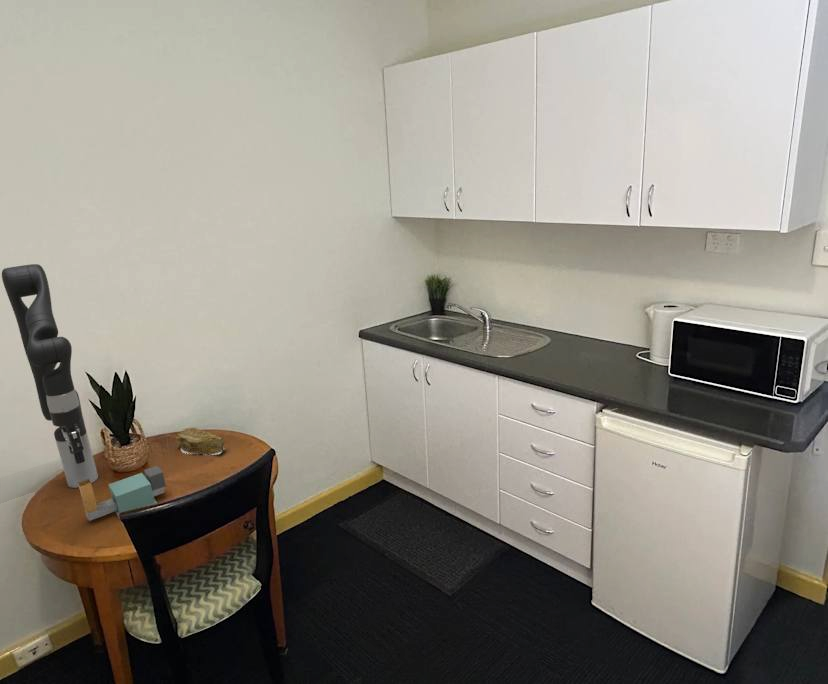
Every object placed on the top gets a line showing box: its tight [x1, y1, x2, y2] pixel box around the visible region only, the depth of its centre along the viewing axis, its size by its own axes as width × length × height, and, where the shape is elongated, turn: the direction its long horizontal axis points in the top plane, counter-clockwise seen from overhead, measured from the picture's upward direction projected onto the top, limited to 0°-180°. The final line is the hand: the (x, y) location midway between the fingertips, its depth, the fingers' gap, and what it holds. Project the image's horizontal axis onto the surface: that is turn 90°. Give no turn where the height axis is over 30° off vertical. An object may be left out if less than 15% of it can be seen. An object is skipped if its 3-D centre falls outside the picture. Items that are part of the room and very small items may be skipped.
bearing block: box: [108, 472, 158, 516], centre depth 182 cm, size 11×11×8 cm
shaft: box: [78, 479, 166, 522], centre depth 179 cm, size 4×22×12 cm, turn 129°
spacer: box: [144, 465, 167, 491], centre depth 185 cm, size 6×4×5 cm, turn 39°
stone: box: [174, 427, 226, 456], centre depth 216 cm, size 22×10×7 cm, turn 65°
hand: (77, 457), depth 170 cm, fingers open, 8 cm apart
